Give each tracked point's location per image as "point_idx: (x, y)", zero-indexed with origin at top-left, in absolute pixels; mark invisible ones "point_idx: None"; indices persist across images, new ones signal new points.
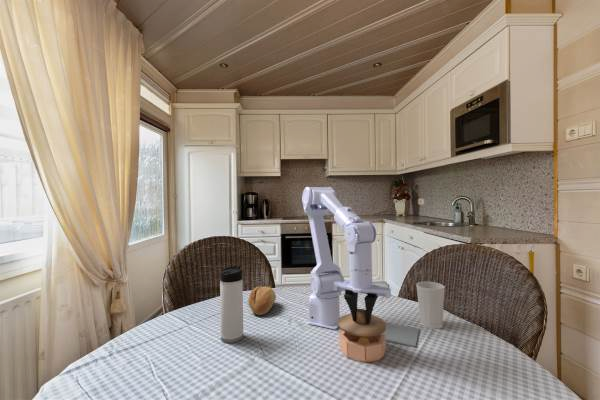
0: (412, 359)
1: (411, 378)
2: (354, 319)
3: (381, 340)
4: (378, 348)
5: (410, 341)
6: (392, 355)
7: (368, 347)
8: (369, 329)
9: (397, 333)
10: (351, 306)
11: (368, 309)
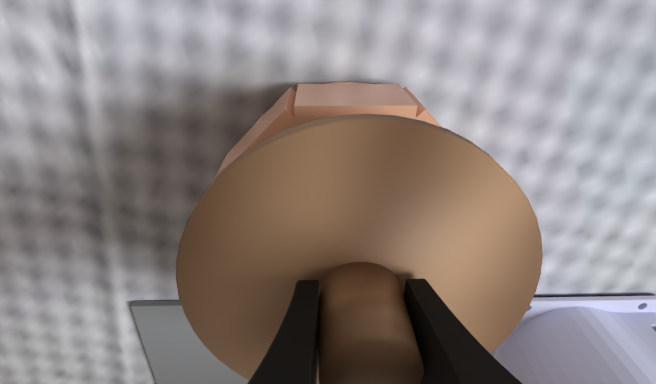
0: (107, 213)
1: (41, 51)
2: (416, 286)
3: None
4: (228, 161)
5: (162, 330)
6: None
7: (273, 120)
8: (271, 218)
9: None
10: (482, 379)
11: (275, 381)
